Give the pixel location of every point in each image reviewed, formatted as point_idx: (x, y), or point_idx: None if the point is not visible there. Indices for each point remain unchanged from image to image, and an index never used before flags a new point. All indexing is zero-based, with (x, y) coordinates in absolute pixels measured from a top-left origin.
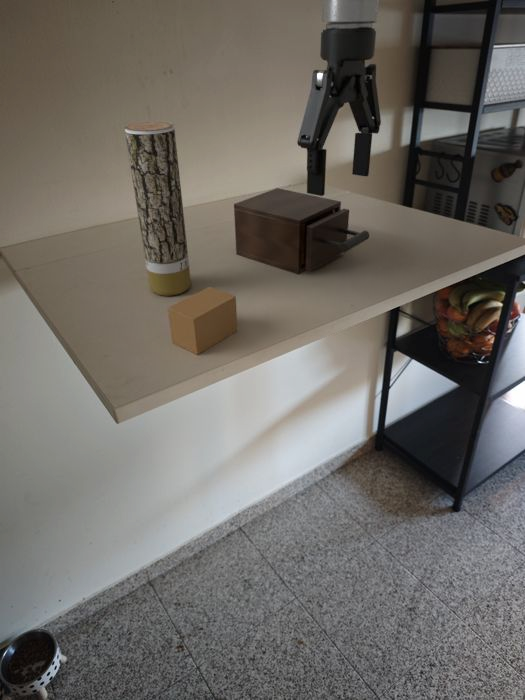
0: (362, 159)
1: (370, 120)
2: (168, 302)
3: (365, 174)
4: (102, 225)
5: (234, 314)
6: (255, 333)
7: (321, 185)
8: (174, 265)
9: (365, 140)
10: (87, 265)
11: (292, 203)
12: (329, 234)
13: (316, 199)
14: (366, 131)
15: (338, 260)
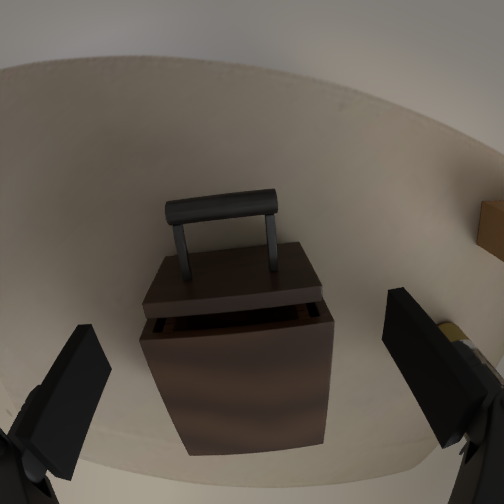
0: (78, 380)
1: (10, 492)
2: (463, 314)
3: (90, 331)
4: (330, 484)
5: (501, 208)
6: (476, 178)
7: (418, 308)
8: (472, 345)
9: (49, 432)
10: (420, 424)
11: (243, 399)
12: (237, 274)
13: (176, 384)
14: (29, 460)
15: (196, 247)
